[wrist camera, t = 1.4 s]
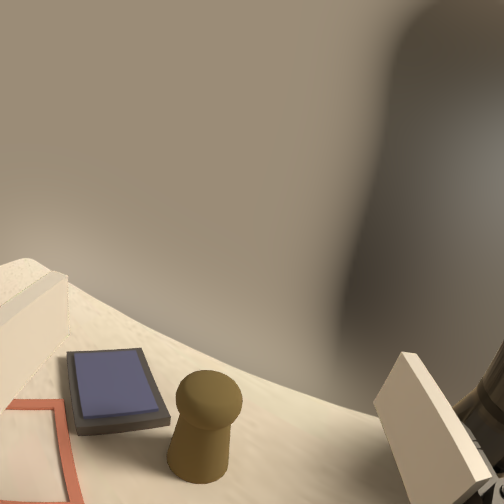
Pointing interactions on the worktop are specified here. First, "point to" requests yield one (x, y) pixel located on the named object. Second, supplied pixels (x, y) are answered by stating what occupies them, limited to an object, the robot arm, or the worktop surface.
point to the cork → (203, 426)
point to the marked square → (64, 445)
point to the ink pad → (114, 392)
